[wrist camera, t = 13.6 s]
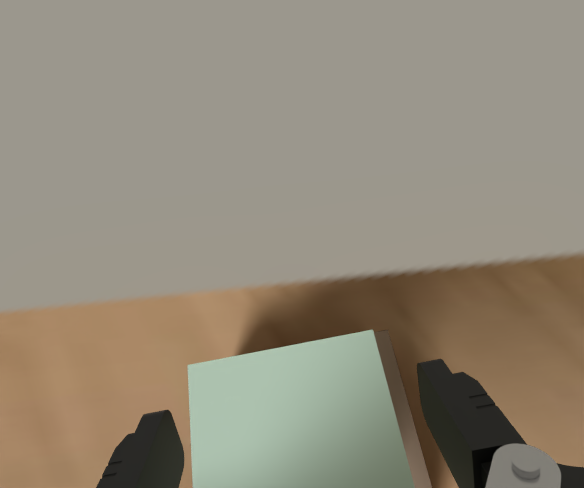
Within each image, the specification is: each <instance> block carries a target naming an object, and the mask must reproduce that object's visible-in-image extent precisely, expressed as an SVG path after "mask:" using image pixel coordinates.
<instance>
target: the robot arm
mask: <svg viewBox="0 0 584 488" xmlns="http://www.w3.org/2000/svg"><path fill="white" fill-rule="evenodd" d="M417 373H418V382H419V391H420V399H421V406H422V411H423V414H424V417H425V420H426V423H427V425H428V427H429V429H430V431H431V433H432V435H433V437H434V439H435V441H436V443H437V445H438V447H439V449H440V451H441V453H442V455H443V457H444V459H445V461H446V463H447V465H448V467H449V469H450V471H451V473H452V475H453V477H454V479H455V481H456V483H457V485H458V487H459V488H584V468H583V467H573V466H566V465H562V464H558V463H556V462H555V461H554V460H553V459H552V458H551V457H550V456H549V455H548V454H546V453H545V452H543V451H541V450H540V449H538V448H535V447H533V446H530V445H527V444H526V443H525V441H524V440H523V439H522V437H521V436H520V435H519V434H518V432H517V431H516V430H515V428H514V427H513V426H512V425H511V423H510V422H509V421H508V419H507V418H506V417H505V416H504V414H503V413H502V412H501V410H500V409H499V408H498V407H497V406H496V405H495V403H494V401H493V400H492V399H491V398H490V396H488V395H487V392H486V391H485V390H484V389H483V387H482V386H481V385H480V383H479V382H478V381H477V380H475V379H473V378H472V377H470V376H469V375H467V374H465V373H464V372H460V373H455V374H452V373H451V371H450V370H449V368H448V367H447V365H446V364H445V363H444V361H443V360H442V359H437V360H432V361H427V362H421V363H418V364H417ZM183 468H184V451H183V446H182V443H181V440H180V438H179V435H178V432H177V429H176V426H175V423H174V420H173V417H172V414H171V412H170V411H169V410H164V411H158V412H153V413H148V414H144V415H143V416H142V418H141V420H140V422H139V425H138V427H137V429H136V431H135V433H132V434H128V435H127V436H126V437H125V438H124V439H123V441H122V442H121V443H120V444H119V445H118V446H117V447H116V448H115V450H114V452H113V454H112V456H111V458H110V461H109V463H108V466H107V467H106V469H105V471H104V473H103V475H102V479H100V481H99V483H98V485H97V487H96V488H179V484H180V480H181V476H182V472H183Z"/></svg>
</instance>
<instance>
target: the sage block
mask: <svg viewBox="0 0 584 488" xmlns="http://www.w3.org/2000/svg"><path fill="white" fill-rule="evenodd" d="M188 384H189V408H190V432H191V455H192V479H193V488H415V486H414V482H413V479H412V475H411V471H410V467H409V464H408V460H407V456H406V452H405V449H404V445H403V441H402V437H401V433H400V430H399V426H398V422H397V418H396V415H395V411H394V407H393V403H392V400H391V396H390V392H389V388H388V385H387V381H386V377H385V373H384V370H383V366H382V362H381V358H380V354H379V351H378V347H377V343H376V339H375V336H374V332H373V330H368V331H362V332H357V333H352V334H347V335H342V336H336V337H331V338H326V339H321V340H316V341H311V342H305V343H300V344H295V345H290V346H285V347H279V348H274V349H269V350H264V351H259V352H254V353H248V354H243V355H238V356H233V357H228V358H222V359H217V360H212V361H207V362H202V363H197V364H191V365H188Z"/></svg>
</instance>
